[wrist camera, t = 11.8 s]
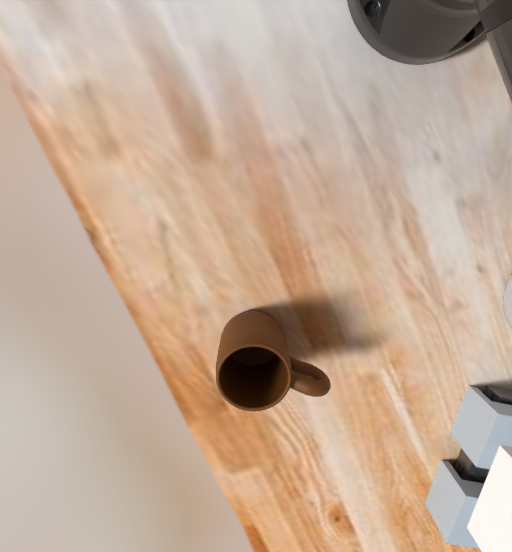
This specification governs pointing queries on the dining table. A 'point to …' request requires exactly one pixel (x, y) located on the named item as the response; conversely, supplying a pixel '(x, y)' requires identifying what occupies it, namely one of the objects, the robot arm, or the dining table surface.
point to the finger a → (453, 505)
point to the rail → (463, 462)
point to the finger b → (482, 427)
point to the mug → (261, 364)
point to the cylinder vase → (508, 301)
